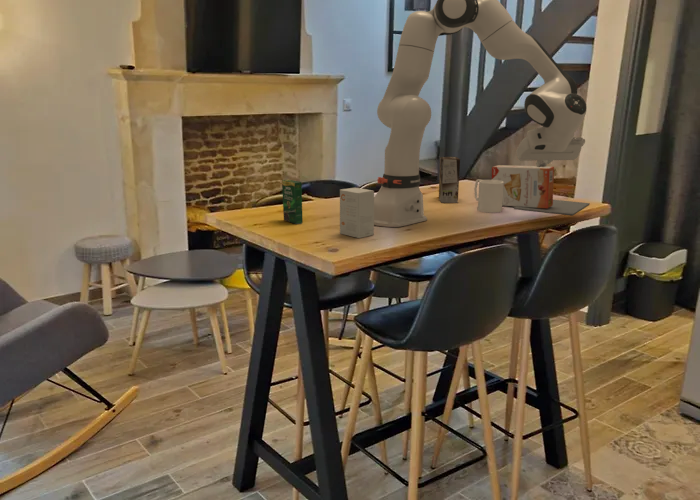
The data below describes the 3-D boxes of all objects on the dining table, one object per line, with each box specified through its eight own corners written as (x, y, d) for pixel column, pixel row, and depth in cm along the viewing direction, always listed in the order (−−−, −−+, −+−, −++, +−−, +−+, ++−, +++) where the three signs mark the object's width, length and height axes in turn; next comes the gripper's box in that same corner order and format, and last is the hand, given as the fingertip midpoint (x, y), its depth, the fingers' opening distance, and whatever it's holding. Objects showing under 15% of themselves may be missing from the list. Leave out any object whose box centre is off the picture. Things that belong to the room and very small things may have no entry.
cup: (482, 205, 223) (483, 177, 220) (506, 211, 213) (508, 182, 210) (465, 207, 218) (466, 179, 216) (489, 213, 209) (491, 184, 206)
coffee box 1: (282, 220, 197) (281, 179, 194) (290, 219, 199) (289, 178, 195) (295, 224, 191) (294, 182, 188) (303, 223, 192) (302, 181, 189)
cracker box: (547, 208, 212) (490, 205, 224) (553, 206, 216) (496, 202, 228) (549, 168, 208) (490, 166, 220) (554, 166, 213) (497, 164, 225)
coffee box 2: (458, 203, 227) (460, 159, 223) (441, 202, 227) (442, 158, 223) (454, 198, 236) (457, 156, 232) (438, 198, 236) (439, 156, 232)
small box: (374, 235, 178) (374, 190, 174) (358, 238, 174) (358, 192, 170) (355, 230, 184) (355, 187, 180) (339, 233, 179) (339, 189, 176)
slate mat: (572, 215, 206) (572, 214, 205) (513, 209, 216) (514, 207, 216) (589, 204, 225) (589, 203, 225) (534, 199, 236) (535, 197, 235)
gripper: (584, 130, 196) (567, 157, 208) (523, 130, 194) (509, 158, 206) (590, 145, 193) (572, 172, 205) (527, 146, 191) (513, 173, 203)
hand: (540, 165), depth 205 cm, fingers closed
